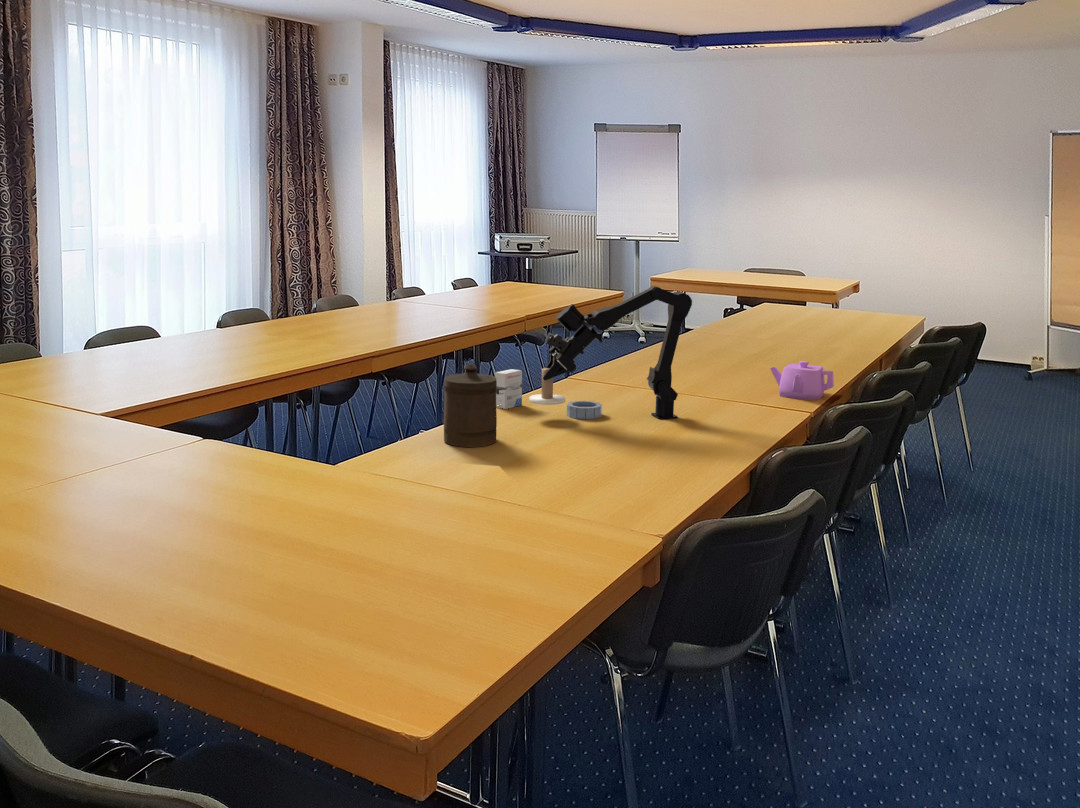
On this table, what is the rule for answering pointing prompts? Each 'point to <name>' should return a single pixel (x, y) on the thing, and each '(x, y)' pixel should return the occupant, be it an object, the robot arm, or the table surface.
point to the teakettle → (803, 381)
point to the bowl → (584, 409)
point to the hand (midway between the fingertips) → (542, 378)
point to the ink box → (509, 388)
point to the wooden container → (470, 409)
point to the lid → (547, 393)
